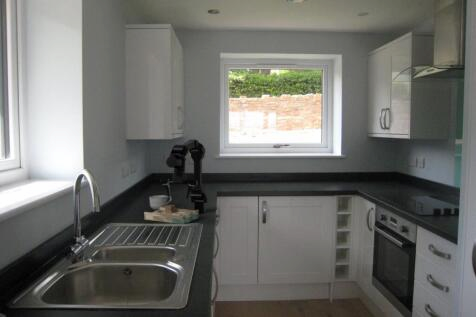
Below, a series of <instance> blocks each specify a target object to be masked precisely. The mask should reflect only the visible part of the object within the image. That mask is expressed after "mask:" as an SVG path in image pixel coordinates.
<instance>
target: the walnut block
mask: <svg viewBox="0 0 476 317" xmlns="http://www.w3.org/2000/svg"><path fill="white" fill-rule="evenodd" d="M175 209H176V205H175V204H167V205H166V206H165V213H170V214H172V213H174V212H175Z"/></svg>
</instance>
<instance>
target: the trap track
mask: <svg viewBox="0 0 476 317" xmlns="http://www.w3.org/2000/svg"><path fill="white" fill-rule="evenodd" d="M143 214H144V215H143V216H144V218H143V219H144V220H146V221H156V222H164V223H171V224H172V223H174V224H178V225H179V224H180V225H186V224H188V223H191V222H192V221H196V220H197V219H199V218H200V214H199V210H194V209H185V208H175V212H174V213H172V214H170V213H165V207H159V209H157V210H154V211H152V212H149V211H144V212H143ZM185 223H186V224H185Z"/></svg>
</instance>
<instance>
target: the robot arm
mask: <svg viewBox="0 0 476 317" xmlns="http://www.w3.org/2000/svg"><path fill="white" fill-rule="evenodd" d="M189 154H190V158H191V160H192V161H193V179H188V180H187V174H188V173H186V161H187V158H186V156H187V155H189ZM205 154H206V148H205V145H203V144H202V143H200V142H199V140H198V139H189V140H187V141H186V142H184V143H180V144H174V145H173V146H172V148H171V151H170V154H169V157H167V159H166V165H167V167H168V168H172V169H173V174H172V179H169V178H160V180H159V185H162V187H164V188H165V190H166V194H167V196H168V198H167V199H169V200H170V196H171V189H170V188H171V186H170V184H172V185H174V184H175V185H188V186H187V192H186V200H188V198H189V197H190V202H191V203H194V209H193V210H199V215H201V214H204V213H206V212H207V210H205V204H207V203H208V197H207V195H206V191H205V188H204V186H203V163H202V162H203V160H204V158H205Z"/></svg>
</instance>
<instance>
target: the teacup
mask: <svg viewBox="0 0 476 317" xmlns="http://www.w3.org/2000/svg"><path fill="white" fill-rule="evenodd" d="M168 199H169V198H168V195H162V194H161V195H152V196H149V206H150V208H151V209H152V210H159V207H165V206H167V205H169V204H170V203H171V202H172V196H171V195H170V199H169V200H168Z"/></svg>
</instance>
